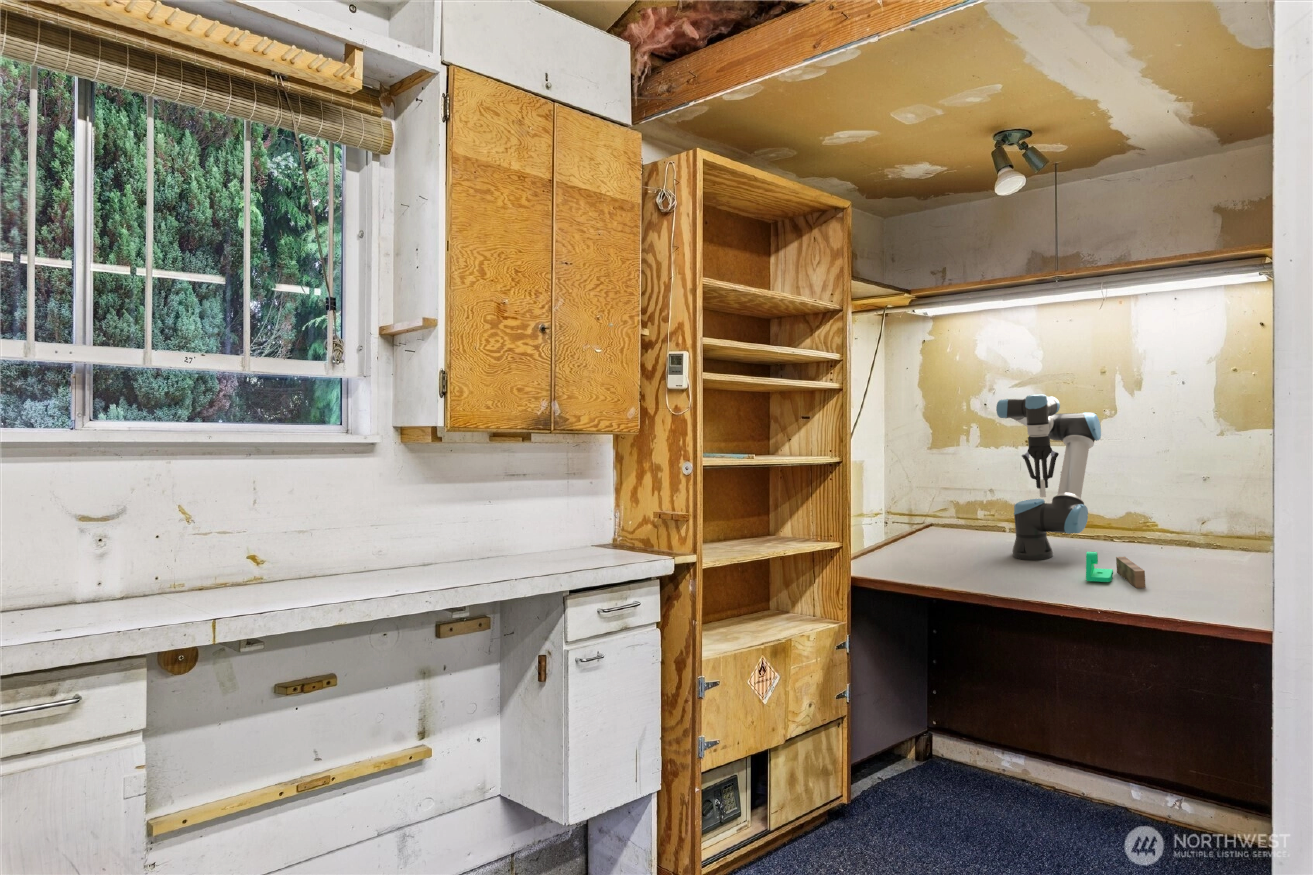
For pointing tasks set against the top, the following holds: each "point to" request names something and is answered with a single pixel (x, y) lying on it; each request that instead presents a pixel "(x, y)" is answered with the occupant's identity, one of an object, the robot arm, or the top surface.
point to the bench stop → (1131, 572)
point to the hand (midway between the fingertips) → (1042, 496)
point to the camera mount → (1096, 569)
